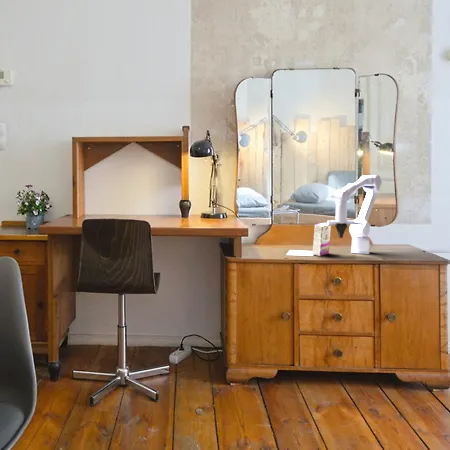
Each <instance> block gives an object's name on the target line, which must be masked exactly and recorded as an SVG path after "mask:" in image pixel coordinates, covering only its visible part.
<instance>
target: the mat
mask: <svg viewBox="0 0 450 450" xmlns="http://www.w3.org/2000/svg"><path fill="white" fill-rule="evenodd" d="M285 256H291V257H292V256H293V257H294V256H295V257H314V255H313V250H297V249H296V250H295V249H289V251H288V252H287V253H286V255H285Z"/></svg>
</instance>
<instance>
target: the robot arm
mask: <svg viewBox="0 0 450 450" xmlns="http://www.w3.org/2000/svg"><path fill="white" fill-rule="evenodd" d="M381 185H382V179H381V176H380V175H378V174H376V175H375V174H373V175H372V174H371V175H369V174H368V175H365V174H364V175H362V176H360V177H359V179H358V180H357V181H355V182H354V183H347V185H345V186H344V187H342V188H341V189H337V190H336V191H335V192H334V194H333V199H334V203H335V220H333V219H332V220H327V222H326V223H327V224H328V225H330V224H331V225H334V226H335V228H336V230H337V231H336V232H337V234H338V235H337V236H338V238H339V239H343V238H344V234H345V231H346V230H347V227H348V225H350V226H349V228H348V231H349V234H350V236H351V250H350V253H351V254H364V255H365V254H366V255H367V254H368V255H369V254H370V251H371V248H370V240H371V239H370V236H369V234H370V227H371V224H370V223H369V222H368V221H369V219H370V218H369V217H370V215H371V212H372V210H373V207H374V204H375V201H376V199H377V195H378V192H379V190H380V188H381ZM360 188H363V190H364V192H366V195H365V198H364V201H363V202H362V205H361V209H360V211H359V214H358V217H357V218H355V219H354V220H353V219H352V220H350V219H349V220H348V201H349V200H350V197H351V196H353V195H354V194H355V193H357V191H358V189H360Z"/></svg>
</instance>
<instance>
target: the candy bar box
mask: <svg viewBox="0 0 450 450" xmlns="http://www.w3.org/2000/svg"><path fill="white" fill-rule="evenodd" d="M313 228H314V230H313V232H314V233H313V242H312V243H313V244H312V251H313V256H318V257H322V256H324V255H327V254H329V253H330V241H331V240H330V239H331V230H332V224H330V225H328V224H327V222H322V223H317V224H314V227H313Z"/></svg>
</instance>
